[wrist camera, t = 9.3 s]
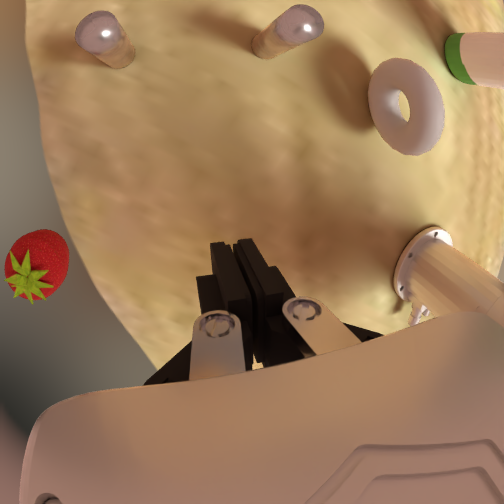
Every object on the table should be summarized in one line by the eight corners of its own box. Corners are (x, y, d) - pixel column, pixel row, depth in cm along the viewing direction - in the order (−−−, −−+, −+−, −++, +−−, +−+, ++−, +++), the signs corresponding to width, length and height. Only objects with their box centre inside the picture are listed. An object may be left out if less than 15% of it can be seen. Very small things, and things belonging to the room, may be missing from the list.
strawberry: (18, 237, 24) (-26, 287, 15) (62, 198, 24) (17, 240, 15) (49, 278, 27) (18, 337, 18) (95, 244, 27) (67, 302, 18)
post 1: (135, 65, 20) (116, 44, 13) (105, 71, 20) (74, 53, 12) (135, 38, 19) (118, 6, 11) (105, 44, 19) (76, 16, 11)
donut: (353, 61, 25) (419, 53, 16) (378, 61, 25) (444, 56, 16) (367, 148, 29) (431, 169, 21) (390, 144, 30) (454, 163, 21)
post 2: (280, 60, 23) (324, 42, 15) (251, 58, 23) (285, 36, 15) (279, 34, 22) (323, 8, 14) (251, 32, 21) (284, 1, 14)
